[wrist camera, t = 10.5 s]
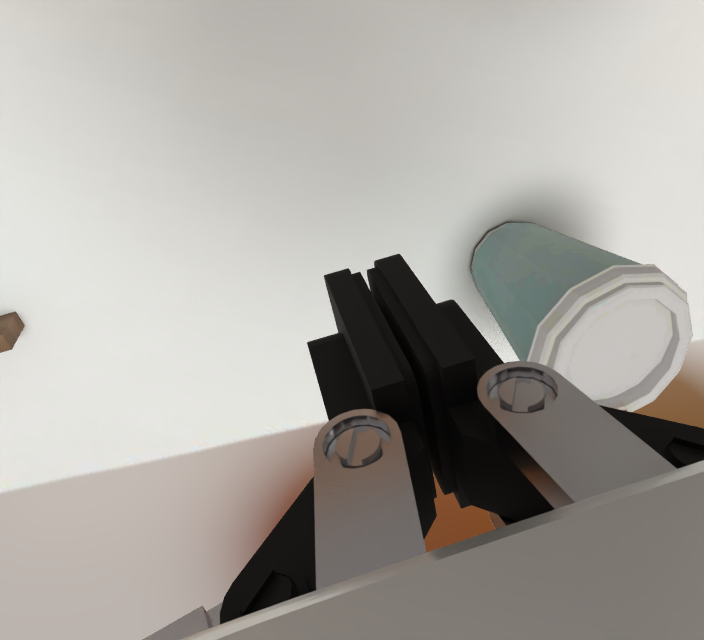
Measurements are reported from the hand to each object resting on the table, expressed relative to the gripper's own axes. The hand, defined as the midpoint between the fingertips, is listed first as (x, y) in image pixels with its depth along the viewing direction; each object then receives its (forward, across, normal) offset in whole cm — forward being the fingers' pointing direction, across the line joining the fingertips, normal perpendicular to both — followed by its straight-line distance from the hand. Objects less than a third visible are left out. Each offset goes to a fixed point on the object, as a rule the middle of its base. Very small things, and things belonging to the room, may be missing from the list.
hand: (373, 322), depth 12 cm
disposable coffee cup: (+27, -16, +16) cm, 35 cm away
